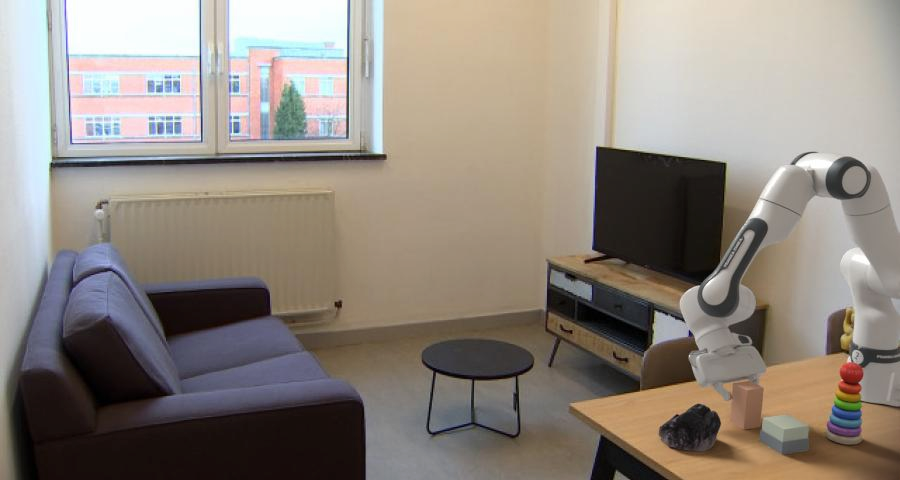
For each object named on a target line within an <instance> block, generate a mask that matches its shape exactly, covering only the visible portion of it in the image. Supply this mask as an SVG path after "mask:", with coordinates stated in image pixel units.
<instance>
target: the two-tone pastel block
mask: <svg viewBox="0 0 900 480" xmlns="http://www.w3.org/2000/svg"><path fill="white" fill-rule="evenodd" d="M809 430H810V425H809V424H807V423H804V422H803V421H801V420H799V419H797V418H795V417H794V416H792V415H789V414H788V413H787V414H780V415H774V416H773V415H772V416H766V417H763V418H762V425H761V429H760V430H759V438H758V439H759V440H758V441H759V443H762V444H763V445H765V446H767V447H768V448H770V449H772V450H773V451H775V452H777V453H778V454H780V455H788V454H793V453H799V452H806V451H809V447H810V437H809Z"/></svg>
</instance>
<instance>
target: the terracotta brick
mask: <svg viewBox="0 0 900 480" xmlns="http://www.w3.org/2000/svg"><path fill="white" fill-rule="evenodd" d="M764 390H765V389H764V387H763V386H761V385H760V384H759V385H757V384H755V383H753V382H751V381H749V380H747V381H746V380H745V381H738V382H732V392H731V395H732V396H733V399H731V401H730V402H731V403H730V415H729V423H730V424H731V425H735V426H736V427H738V428H740V429H742V430H743V431H745V430H750V429H757V428H761V421H762V414H763V413H762V411H763V401H764Z"/></svg>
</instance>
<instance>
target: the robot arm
mask: <svg viewBox="0 0 900 480" xmlns="http://www.w3.org/2000/svg"><path fill="white" fill-rule="evenodd" d="M815 196H817V197H821V198H830V199H834V200H835V199H836V200H840V202H841V206H842V207H841V208H842V211H843V216H844V219H845V223H846V227H847V230H848V234H849V237H850V239H851V241H852V242H853V243H854V244H855V245H856V246H857V247H853V248H850V249H848V250H847V251H846V252H845V253H844V254H843V256H842V258H841V260H840V263H839V271H840V274H841V276H842V278H844V280H845V281H846V283H847V285H848V287H849V291H850V294H851V299H852V302H853V307H854V311H855V318H854V332H853V339H852V340H851V344H850V351H849V353H850V354H849V356H848V358H847V361H846V363H848V362H854V363H857V364H859V365H860V366H861V367H862V369H863V372H864V376H863V378H862V380H861V381H860V382H859V384H860V385H861V386H862V390H861V391H860V392H859V393H860V394H861V400H860V401H862V402H866V403H871V404H880V405H881V404H882V405H888V406H892V407H900V346H899V345H900V344H899V343H900V313H899V312H898V310H897V309H896V308H895V305H894V303H893V301H892V300H893V299H894V300H895V299H896V300H900V230H899V229H898V226H897V223H896V220H895V215H894V212H893V211H894V210H893V208H892V205H891V200H890V197H889V194H888V190H887V187H886V185H885V182H884V180H883V178H882V176H881V174H880V172H879V170H878V169H877V168H876V167H875V166H873V165H871V164H864V163H863V162H862V161H861V160H859V159H857V158H854V157H852V156H845V155H843V154H838V153H834V152H818V151H807V152H803V153H801V154H799V155H797V156H796V157H795V158H793V160H792V161H791V162H790V164H786V165H781V166H779V168H777V169H776V171H775V172H774V173H773V175H772V176H771V177H770V179H769V180H768V182H767V183H766V185H765V187H764V188H763V190H762V191H761V193H760V196H759V197H758V200H757V201H756V203H755V205H754V207H753V209H752V211H751V212H750V214H749V216H748V218H747V220H746V221H745V222H744V223H743V225H742V227H741V228H740V230H739V231H738V232H737V234H736V235H735V236H734V238H733V240H732V241H731V243H730V245H729V247H728V249H727V251H726V252H725V254H724V255H723V257H722V259H721V260H720V262H719V263H718V265H717V267H716V268H715V269H714V270H713V272H712V273H711V274H709V275H708V276H707V277H706V278H705V279H704V280H703V281H702V282H701V283H700V285H695V286H693V287H691V288H689V289H687V290H686V291H685V292H684V293H683V294H682V295H681V297H680V300H679V309H680V312H681V315H682V317H683V319H684V322H685V324H686V326H687V328H688V330H689V331H690V332H691V333H692V334H693V335H692V336H694V341H695V345H696V346H697V348H698V350H692V351H690V353H689V355H688V361H689V362H690V364H691V365H690V366H691V369H692V371H693V372H692V373H693V375H694V377H695V380H696V381H697V384H698V385H699V387H701V388H704V389H705V388H709V387H710V388H711V387H713V390H714V391H716V393H718V394H719V395H720V396H721V397H722V398H723V400H724V402H729V401H732V399H733V396H732V392H731V391H729V390H727V389H726V388H725V387H724V385H725V384H730V383H737V382H743V381H746V380H747V381H751V382H753V383H755V384H757V385H759V386H760V377H761V376H762V375H764V374H765V373H766V372H767V365H766V362H765V361H764V360H763V359H764V358H762V357H763V356H762V355H761V354H760V352H759V351H758V349H756V347H755V346H753V345H752V344H753V341H752V340H753V339H751V337H750V336H748V335H743V334H738V333H735V332H733V331H732V332H731V330H730V329H729V327H730V326H731V325H736V324H739V323H741V322H744V321H746V320H748V319H749V318H751V317H752V316H753V315H754V314H755V311H756V308H757V298H756V295H755V293H754V291H752V289H750V288H749V287H747V286H745V285H743V284H741V282H742V280H743V278H744V277H745V274H746V273H747V271H748V269H749V267H750V266H751V264H752V263H753V262H754V259H755V258H756V256H757V254H759V252H760V251H761V250H762V249H764V248H766V247H768V246H770V245H773V244H780V243H782V242H784V241H786V240H788V239H789V238H790V237H791V235H792V234H793V233H794V231H795V230H796V229H797V228H798V227H797V226H798V225H799V223H800V221H801V219H802V217H803V215H804V213H805V210H806V208H807V205H808V203H809V202H810V201H811V199H813V198H815ZM840 381H843V380H842V379H841V380H840Z"/></svg>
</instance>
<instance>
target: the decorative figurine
mask: <svg viewBox="0 0 900 480" xmlns="http://www.w3.org/2000/svg"><path fill="white" fill-rule="evenodd" d="M854 318H855V311H854V306H853V307H847V308H846V310H845V318H844V321H843V332H844V334H842V335H841V337H840V347H841V349H842V350H844V354H848V353H849V351H850V344H851V340H852V339H853V332H854Z"/></svg>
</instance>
